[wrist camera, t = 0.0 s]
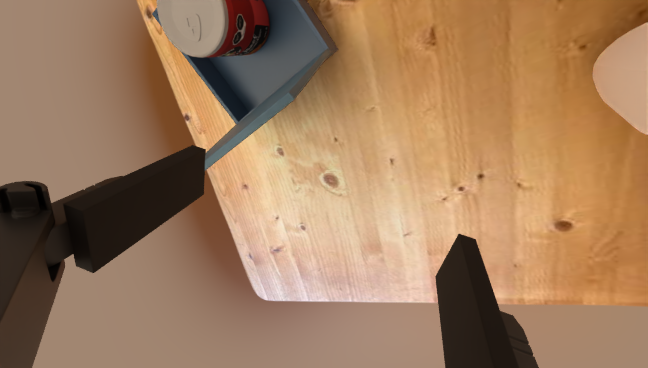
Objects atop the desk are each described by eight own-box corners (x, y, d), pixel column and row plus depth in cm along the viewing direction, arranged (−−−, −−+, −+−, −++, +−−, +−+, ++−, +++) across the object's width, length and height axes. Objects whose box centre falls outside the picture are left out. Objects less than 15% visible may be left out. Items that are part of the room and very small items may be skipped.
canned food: (233, 63, 42) (179, 68, 32) (208, 0, 39) (141, -16, 29) (281, 43, 39) (238, 42, 29) (257, -26, 36) (201, -53, 27)
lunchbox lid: (152, 202, 26) (158, 207, 26) (288, 91, 19) (294, 99, 19) (235, 125, 40) (238, 128, 41) (327, 47, 34) (331, 52, 34)
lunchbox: (176, 17, 41) (151, 13, 38) (254, -81, 35) (234, -97, 31) (253, 119, 45) (238, 126, 41) (338, 49, 38) (330, 49, 34)
